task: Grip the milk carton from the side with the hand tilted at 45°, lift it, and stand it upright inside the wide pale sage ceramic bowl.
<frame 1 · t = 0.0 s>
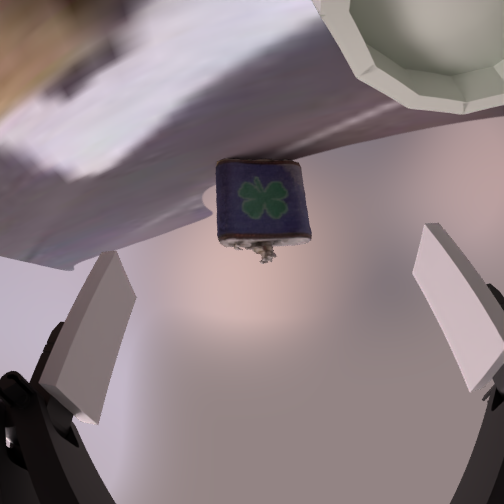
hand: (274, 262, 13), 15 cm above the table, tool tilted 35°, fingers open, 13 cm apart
flask: (258, 163, 33), on the table
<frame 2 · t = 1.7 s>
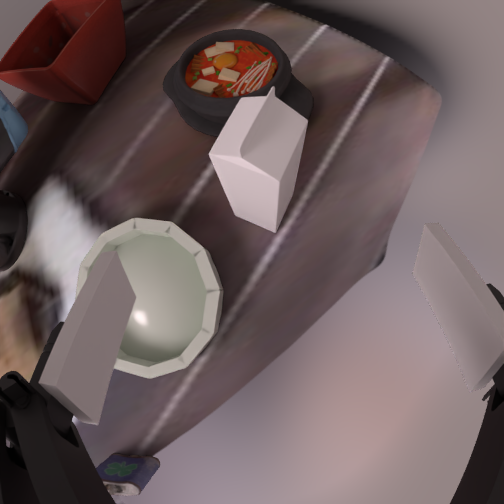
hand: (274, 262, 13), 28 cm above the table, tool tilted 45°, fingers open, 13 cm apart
milk: (264, 205, 42), on the table
plant pot: (89, 79, 48), on the table
bowl: (150, 298, 40), on the table
flask: (135, 460, 37), on the table
casserole: (235, 95, 45), on the table
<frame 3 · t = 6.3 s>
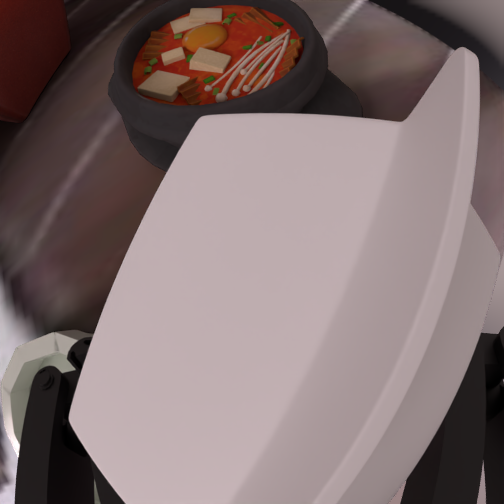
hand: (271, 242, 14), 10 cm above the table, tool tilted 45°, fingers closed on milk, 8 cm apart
milk: (275, 310, 23), on the table, touching gripper
plant pot: (25, 84, 29), on the table
bowl: (101, 436, 22), on the table
casserole: (226, 98, 26), on the table
when the fingers open (12 cm above the table, at t = 13.2 s): milk drops 1 cm, resting on bowl.
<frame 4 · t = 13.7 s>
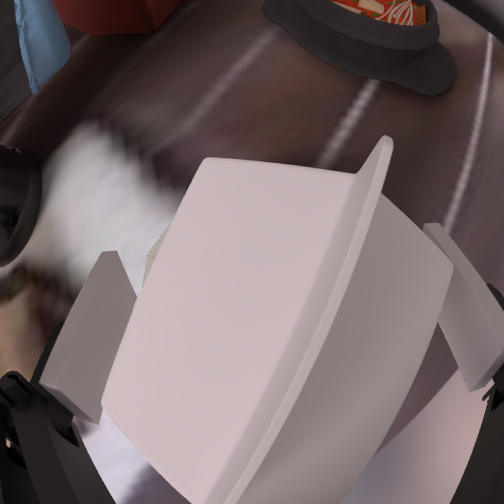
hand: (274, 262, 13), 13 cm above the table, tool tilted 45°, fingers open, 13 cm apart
milk: (272, 311, 24), point 1 cm above the table, touching bowl
plant pot: (141, 10, 33), on the table
bowl: (275, 308, 25), on the table
casserole: (359, 37, 29), on the table
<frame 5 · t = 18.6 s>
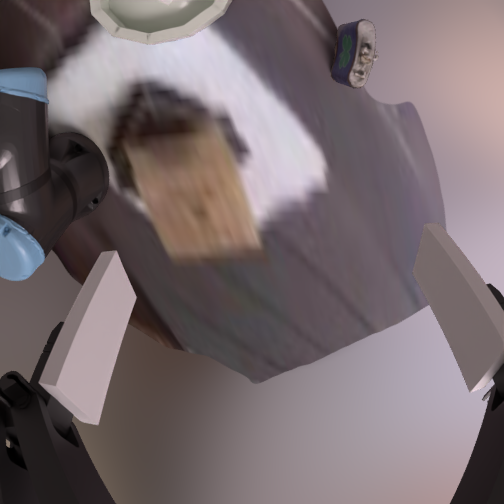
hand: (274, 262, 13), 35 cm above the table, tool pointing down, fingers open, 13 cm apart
flask: (342, 53, 35), on the table
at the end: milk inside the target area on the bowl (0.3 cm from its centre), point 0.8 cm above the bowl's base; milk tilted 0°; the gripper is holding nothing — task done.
